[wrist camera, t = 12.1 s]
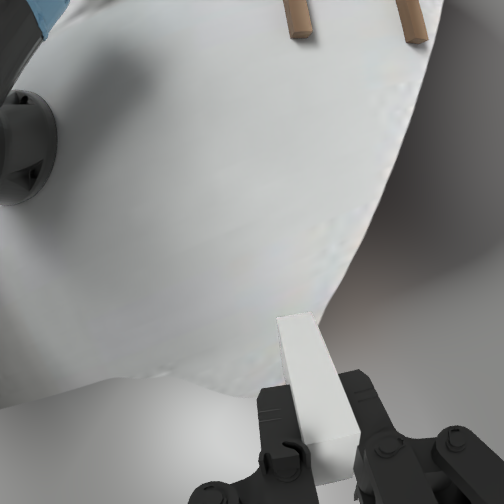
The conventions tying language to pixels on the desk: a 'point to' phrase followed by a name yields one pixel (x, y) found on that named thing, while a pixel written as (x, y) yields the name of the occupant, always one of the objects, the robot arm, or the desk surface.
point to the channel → (406, 7)
